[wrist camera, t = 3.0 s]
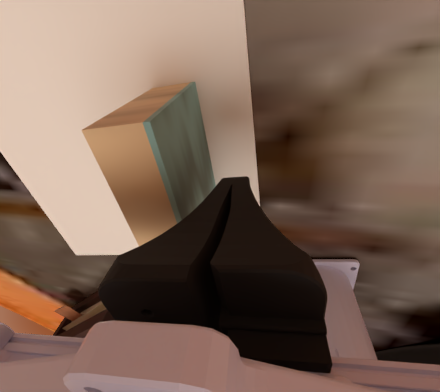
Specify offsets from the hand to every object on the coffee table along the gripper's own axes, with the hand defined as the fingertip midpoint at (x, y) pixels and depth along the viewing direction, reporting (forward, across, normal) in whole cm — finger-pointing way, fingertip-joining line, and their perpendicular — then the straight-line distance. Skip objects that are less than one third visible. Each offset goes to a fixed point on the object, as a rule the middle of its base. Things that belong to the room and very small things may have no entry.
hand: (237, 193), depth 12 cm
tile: (+7, +4, 0) cm, 8 cm away
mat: (+7, +10, 0) cm, 12 cm away
